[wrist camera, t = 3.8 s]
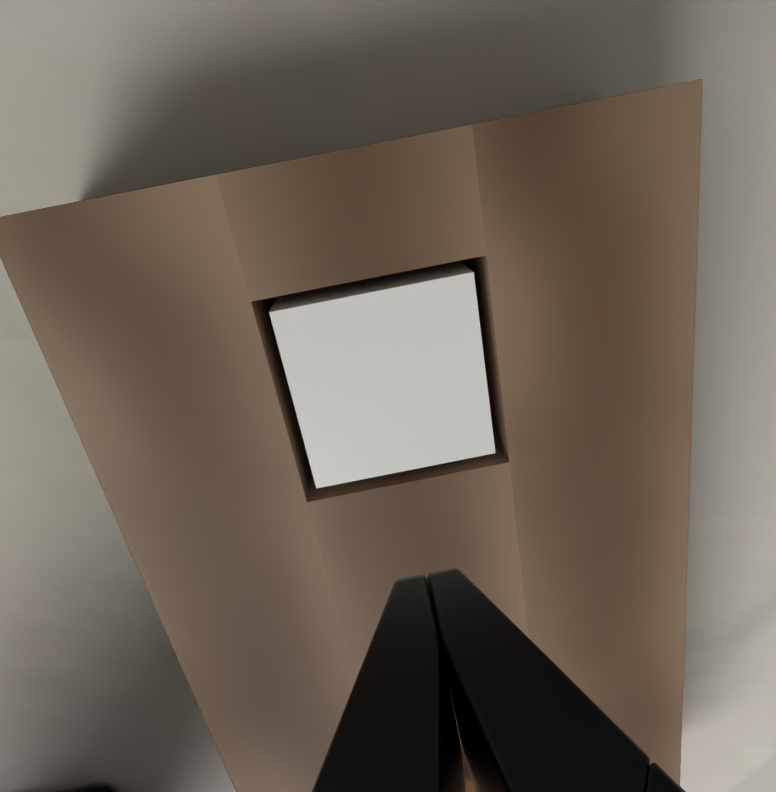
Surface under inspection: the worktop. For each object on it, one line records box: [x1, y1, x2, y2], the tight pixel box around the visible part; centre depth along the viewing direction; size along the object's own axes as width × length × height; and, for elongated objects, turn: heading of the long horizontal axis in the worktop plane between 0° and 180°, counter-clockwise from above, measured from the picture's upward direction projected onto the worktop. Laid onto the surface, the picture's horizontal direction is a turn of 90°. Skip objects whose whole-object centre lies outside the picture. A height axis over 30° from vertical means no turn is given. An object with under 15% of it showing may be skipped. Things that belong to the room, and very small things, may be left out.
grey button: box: [269, 261, 495, 488], centre depth 14 cm, size 4×4×4 cm
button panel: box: [0, 79, 702, 792], centre depth 18 cm, size 14×26×4 cm, turn 10°
